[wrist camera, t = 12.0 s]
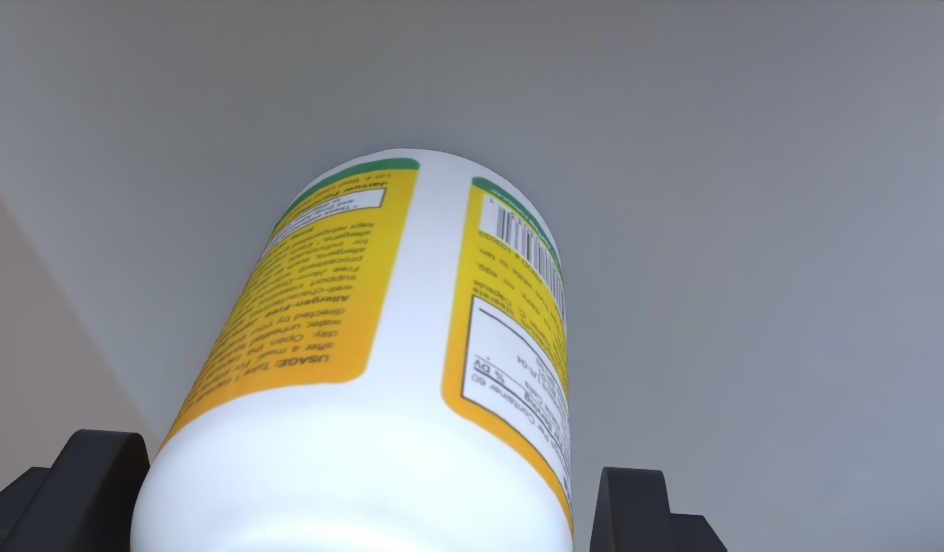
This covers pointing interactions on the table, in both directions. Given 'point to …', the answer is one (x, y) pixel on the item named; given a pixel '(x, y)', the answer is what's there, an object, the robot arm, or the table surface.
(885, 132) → the table surface
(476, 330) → the supplement bottle
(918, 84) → the table surface
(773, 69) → the table surface
